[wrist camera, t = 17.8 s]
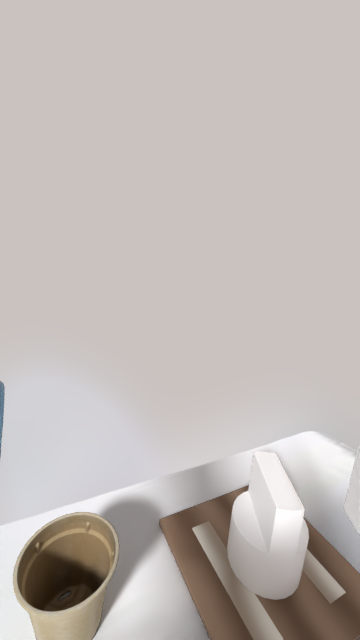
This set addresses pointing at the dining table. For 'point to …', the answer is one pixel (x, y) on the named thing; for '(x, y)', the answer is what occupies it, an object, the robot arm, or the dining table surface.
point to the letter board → (249, 608)
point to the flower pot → (66, 575)
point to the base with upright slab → (268, 531)
